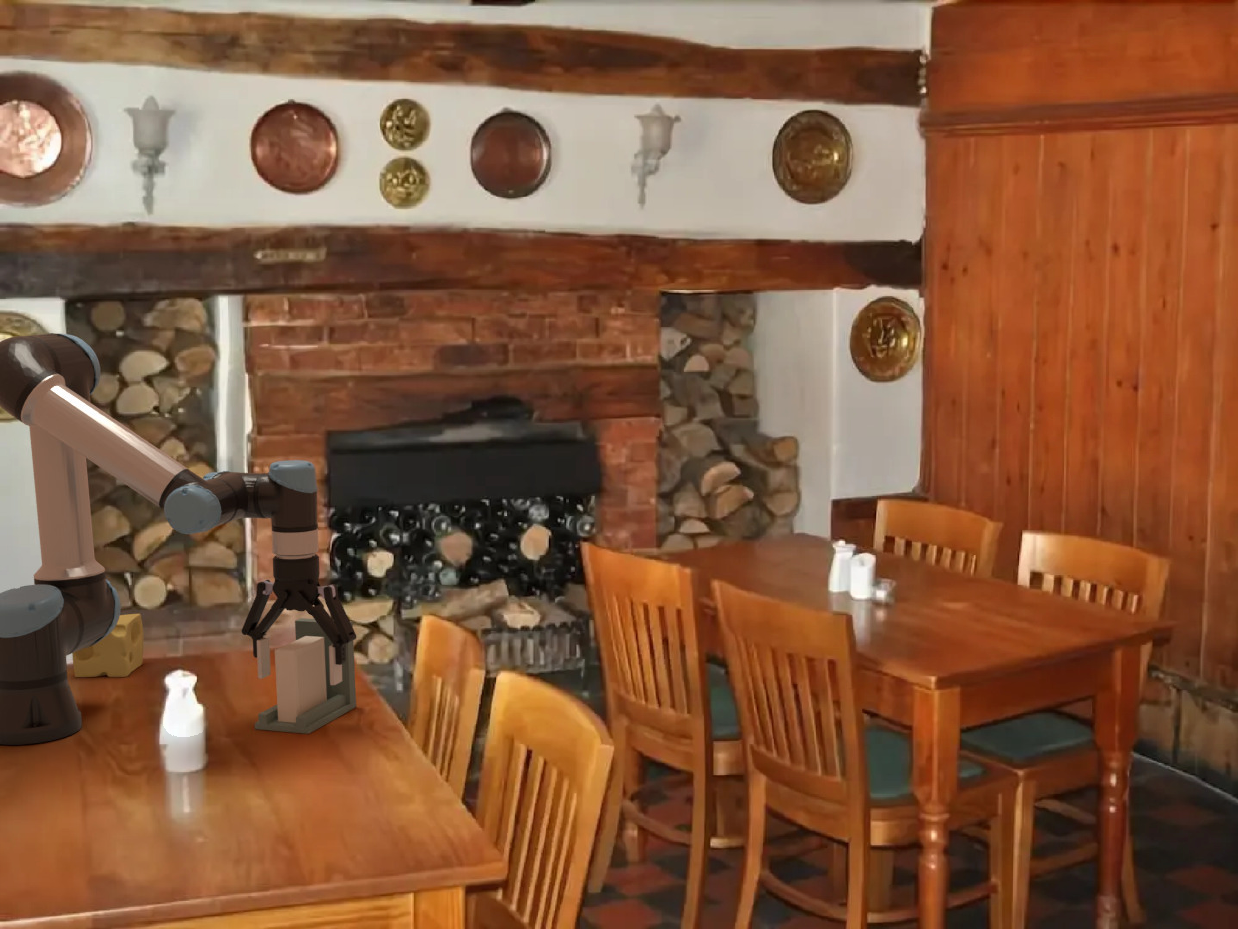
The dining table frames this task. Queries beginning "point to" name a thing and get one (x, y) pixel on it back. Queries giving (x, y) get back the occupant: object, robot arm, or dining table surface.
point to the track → (338, 695)
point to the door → (300, 677)
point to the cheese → (113, 651)
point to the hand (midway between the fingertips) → (300, 680)
